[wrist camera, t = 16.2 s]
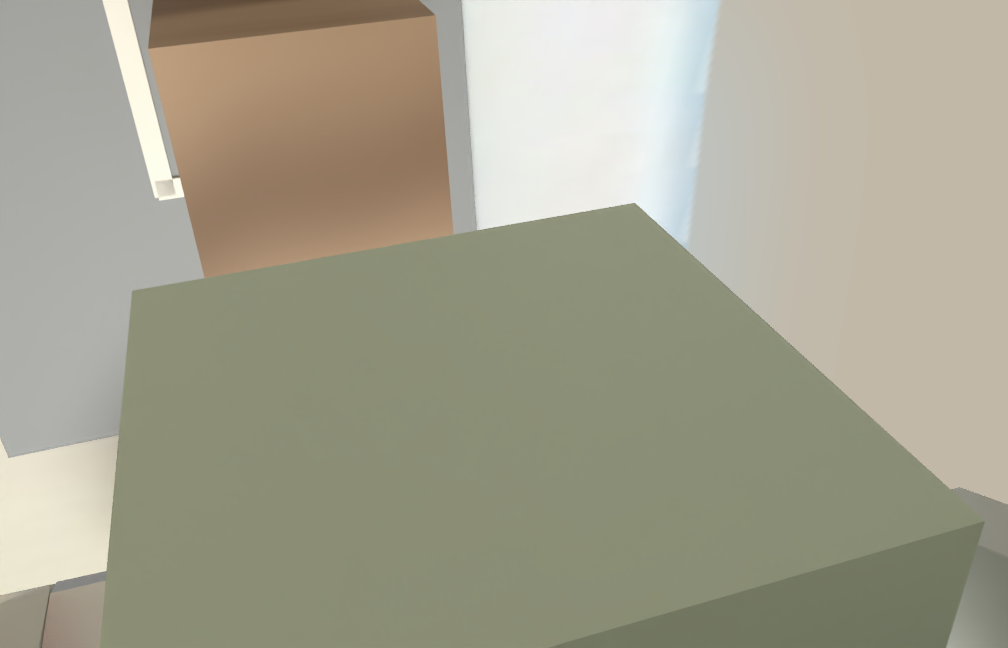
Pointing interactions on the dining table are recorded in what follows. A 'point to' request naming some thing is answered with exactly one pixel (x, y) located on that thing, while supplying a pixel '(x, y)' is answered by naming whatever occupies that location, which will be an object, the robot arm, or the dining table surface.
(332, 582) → the sage block
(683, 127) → the dining table surface
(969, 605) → the robot arm
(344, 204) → the walnut block
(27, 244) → the building board
